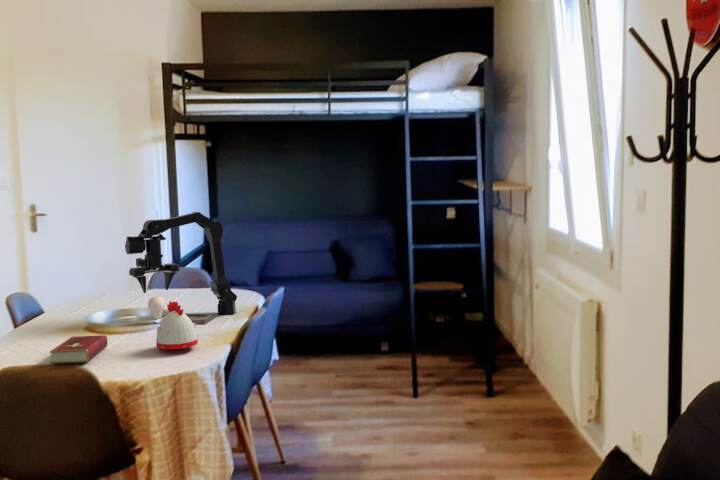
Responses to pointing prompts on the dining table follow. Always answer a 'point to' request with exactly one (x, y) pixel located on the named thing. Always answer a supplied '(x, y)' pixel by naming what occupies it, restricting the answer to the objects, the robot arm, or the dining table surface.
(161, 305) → the light bulb
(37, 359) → the dining table surface
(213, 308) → the dining table surface
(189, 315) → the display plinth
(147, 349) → the dining table surface
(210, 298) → the dining table surface
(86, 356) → the hardcover book
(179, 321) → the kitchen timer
